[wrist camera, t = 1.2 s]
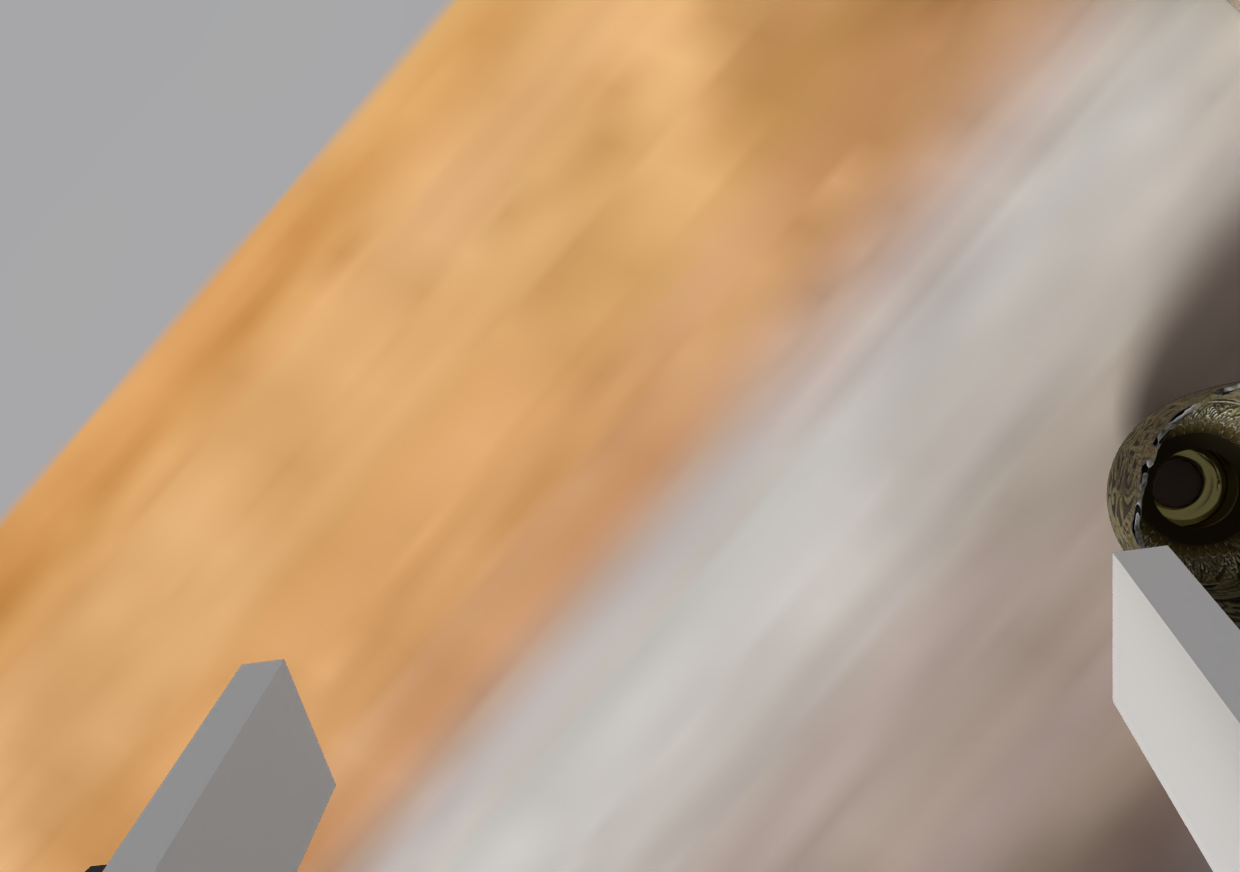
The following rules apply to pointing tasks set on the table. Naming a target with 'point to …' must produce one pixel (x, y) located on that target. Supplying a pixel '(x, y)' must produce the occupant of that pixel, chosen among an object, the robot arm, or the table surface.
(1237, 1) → the crate
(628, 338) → the table surface
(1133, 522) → the cup
